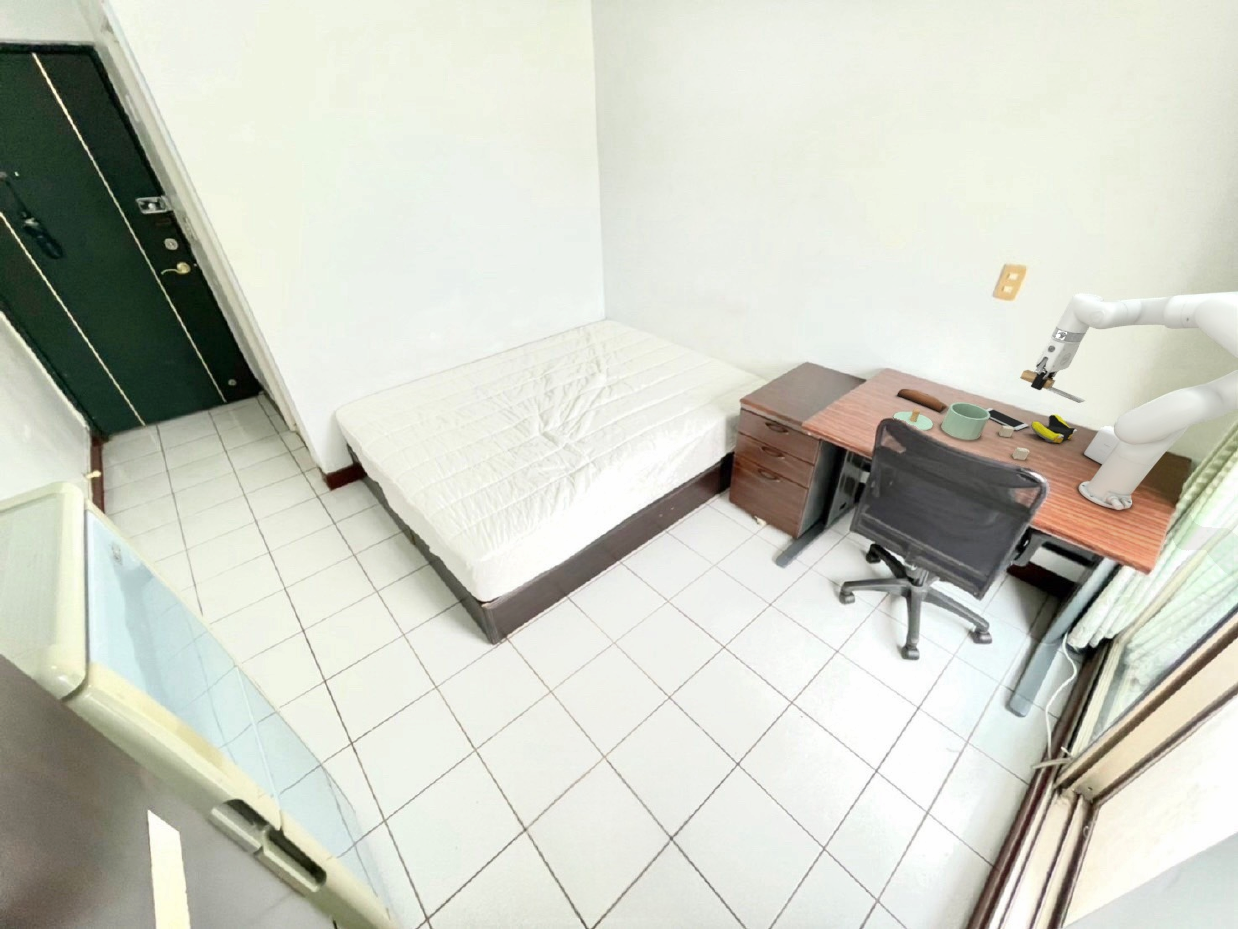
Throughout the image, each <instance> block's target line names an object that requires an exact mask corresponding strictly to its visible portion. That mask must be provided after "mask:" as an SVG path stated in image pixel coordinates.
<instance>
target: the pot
mask: <svg viewBox="0 0 1238 929" xmlns="http://www.w3.org/2000/svg"><path fill="white" fill-rule="evenodd" d="M989 417H990V413H989V412H988V411H987V410H986V409H985V408H984V407H982V406H979V405H978V404H973V403H969V402H962V401H961V402H960V401H959V402H953V403H951V404H950V405H949V407H948V410H947V411H946V414H945V416H944V419H943V420H942V423H941V425H940V428H941V430H942V431H943V432H944V433H946V434H948V435H949V436H952V437H953V438H957V439H960V440H968V441H970V440H977V439H979V438H980V437H981V435H982V433H983V431H984V429H985V427H986V425H987V423H988V421H989V420H990V418H989Z"/></svg>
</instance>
